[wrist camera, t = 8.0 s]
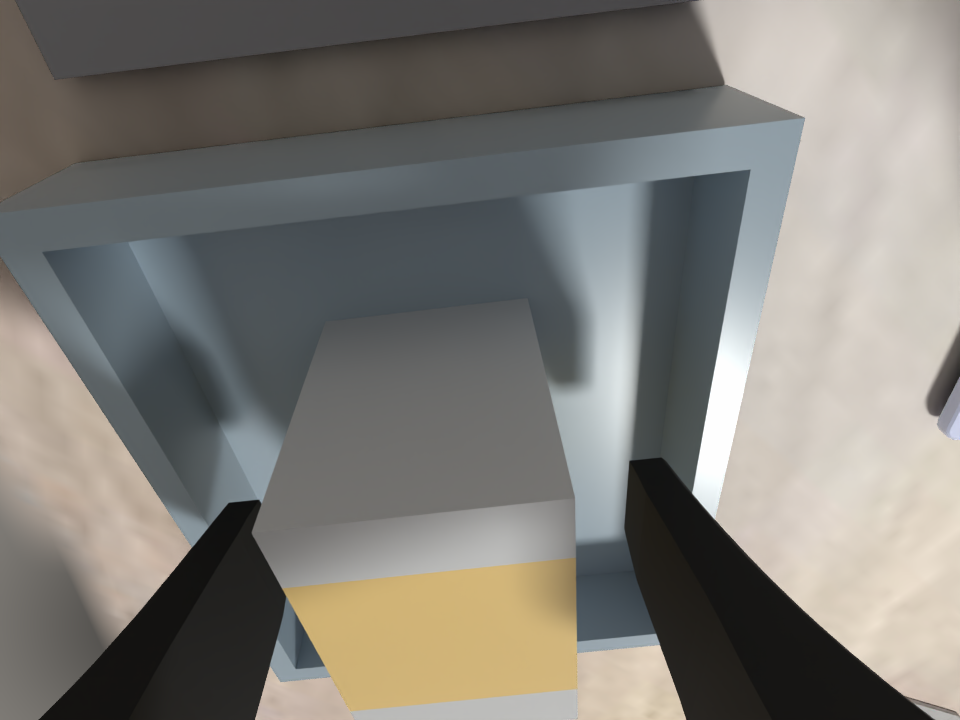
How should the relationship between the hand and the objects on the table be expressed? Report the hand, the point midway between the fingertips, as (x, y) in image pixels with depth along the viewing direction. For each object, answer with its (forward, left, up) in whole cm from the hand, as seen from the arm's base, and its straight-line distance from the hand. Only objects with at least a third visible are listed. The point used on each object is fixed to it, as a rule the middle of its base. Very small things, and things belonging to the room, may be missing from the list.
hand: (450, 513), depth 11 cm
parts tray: (0, 0, -3) cm, 3 cm away
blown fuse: (0, 0, -2) cm, 2 cm away
